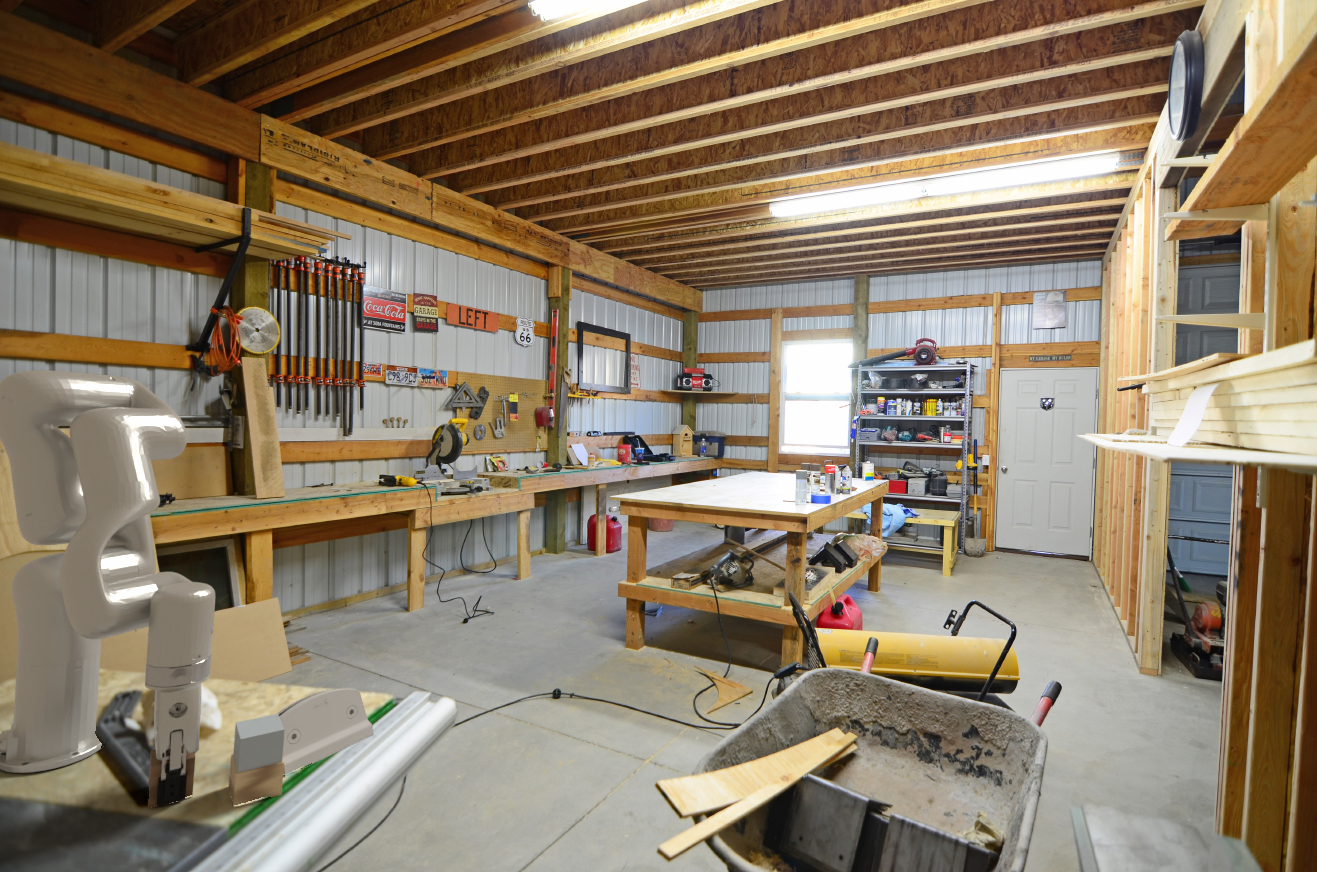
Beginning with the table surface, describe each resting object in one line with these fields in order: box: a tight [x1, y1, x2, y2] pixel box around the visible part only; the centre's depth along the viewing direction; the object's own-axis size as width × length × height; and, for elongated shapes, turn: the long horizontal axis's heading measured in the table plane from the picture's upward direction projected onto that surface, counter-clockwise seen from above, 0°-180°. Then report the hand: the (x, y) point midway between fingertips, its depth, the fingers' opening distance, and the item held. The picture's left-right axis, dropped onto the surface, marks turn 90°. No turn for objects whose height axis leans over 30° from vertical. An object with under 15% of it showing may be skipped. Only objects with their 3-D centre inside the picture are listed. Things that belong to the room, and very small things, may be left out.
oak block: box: [228, 753, 284, 806], centre depth 93 cm, size 6×6×5 cm
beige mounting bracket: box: [276, 688, 374, 774], centre depth 106 cm, size 17×5×10 cm, turn 153°
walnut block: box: [147, 748, 196, 810], centre depth 91 cm, size 5×5×6 cm
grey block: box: [233, 713, 285, 773], centre depth 93 cm, size 6×6×5 cm
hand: (170, 790), depth 91 cm, fingers closed on walnut block, 5 cm apart
